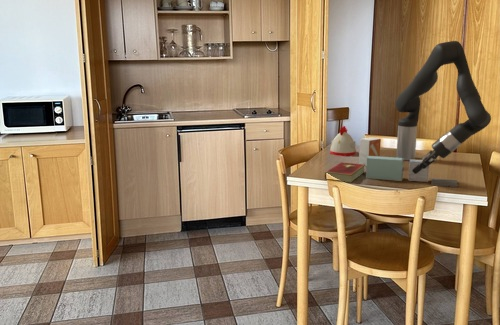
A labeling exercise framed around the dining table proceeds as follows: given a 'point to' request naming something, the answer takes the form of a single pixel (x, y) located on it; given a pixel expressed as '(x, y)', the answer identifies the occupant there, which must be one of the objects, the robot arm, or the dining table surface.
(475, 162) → the dining table surface
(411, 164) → the grey upright block
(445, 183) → the rubber mat
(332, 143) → the cream red beanie hat
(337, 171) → the hardcover book
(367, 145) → the small box
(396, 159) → the block
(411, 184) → the dining table surface
